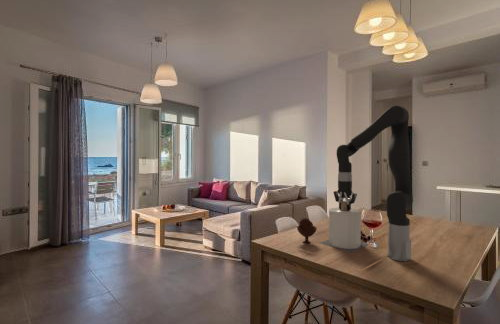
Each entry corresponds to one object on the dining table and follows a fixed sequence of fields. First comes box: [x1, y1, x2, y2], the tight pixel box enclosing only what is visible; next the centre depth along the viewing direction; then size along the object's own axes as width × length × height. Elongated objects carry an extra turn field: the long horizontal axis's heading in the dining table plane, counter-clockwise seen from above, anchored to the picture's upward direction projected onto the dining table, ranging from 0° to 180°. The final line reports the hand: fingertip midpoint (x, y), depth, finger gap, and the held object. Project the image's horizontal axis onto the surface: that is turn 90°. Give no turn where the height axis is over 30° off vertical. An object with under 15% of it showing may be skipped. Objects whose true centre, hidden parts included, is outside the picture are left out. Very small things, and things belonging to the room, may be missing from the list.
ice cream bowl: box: [296, 217, 317, 245], centre depth 158 cm, size 11×11×15 cm
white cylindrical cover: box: [328, 200, 362, 249], centre depth 156 cm, size 17×17×24 cm
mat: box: [319, 239, 371, 254], centre depth 156 cm, size 20×20×1 cm
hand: (344, 210), depth 155 cm, fingers closed on white cylindrical cover, 4 cm apart
